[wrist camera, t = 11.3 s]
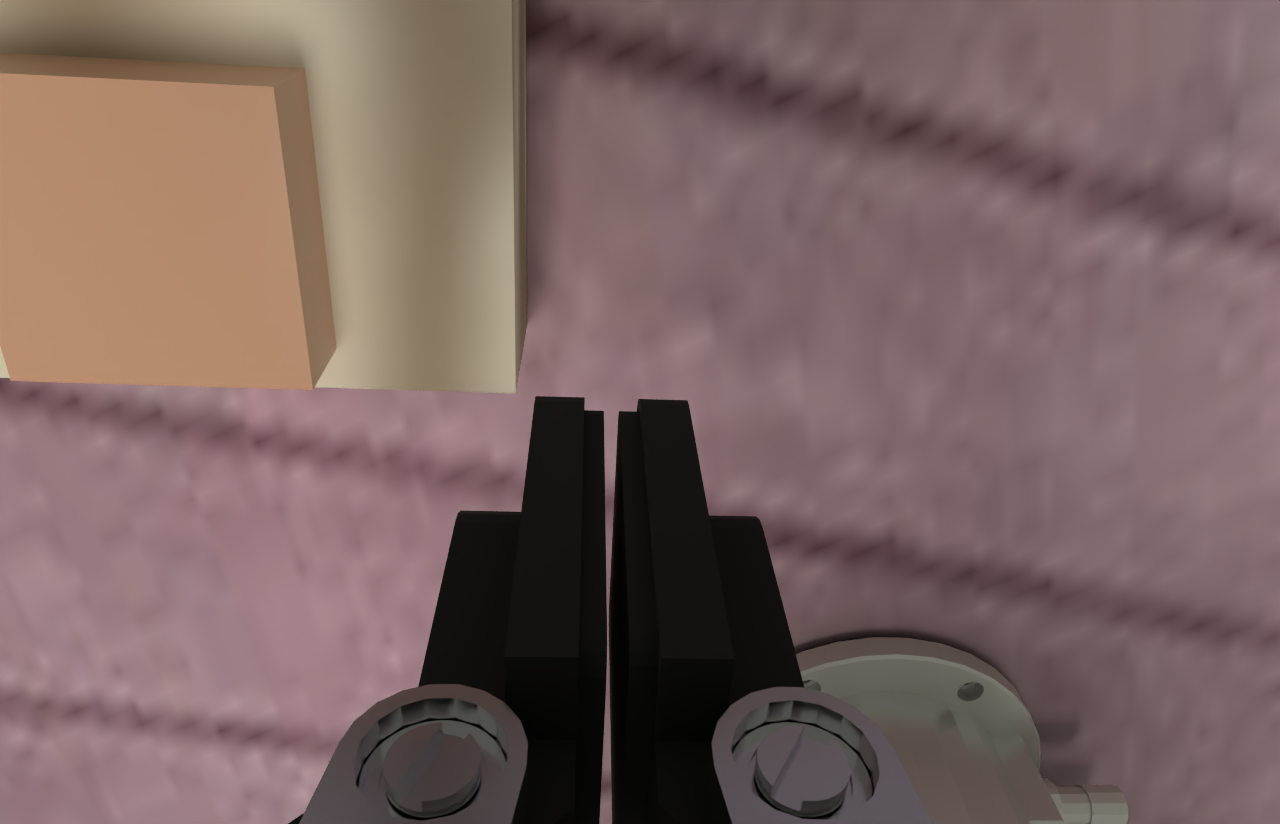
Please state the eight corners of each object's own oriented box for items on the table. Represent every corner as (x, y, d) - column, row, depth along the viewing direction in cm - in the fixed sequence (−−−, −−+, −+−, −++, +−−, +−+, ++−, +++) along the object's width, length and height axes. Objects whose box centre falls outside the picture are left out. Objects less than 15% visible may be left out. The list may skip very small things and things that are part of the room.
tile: (304, 68, 18) (273, 86, 16) (336, 348, 21) (312, 389, 19) (-18, 52, 18) (-86, 68, 16) (60, 339, 20) (10, 380, 19)
